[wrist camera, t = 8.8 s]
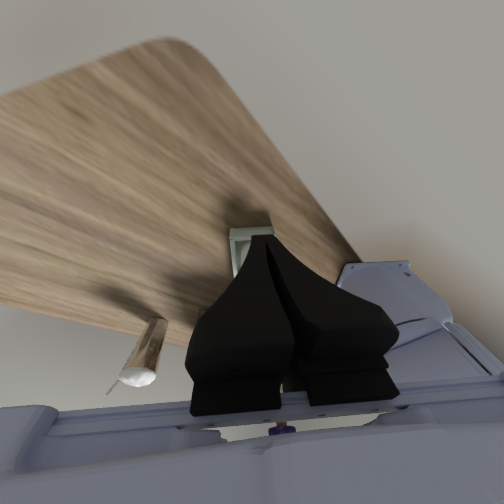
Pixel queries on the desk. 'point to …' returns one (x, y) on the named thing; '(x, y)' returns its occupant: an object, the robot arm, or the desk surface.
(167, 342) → the desk surface
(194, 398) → the robot arm
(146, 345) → the milkshake
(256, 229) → the caddy
